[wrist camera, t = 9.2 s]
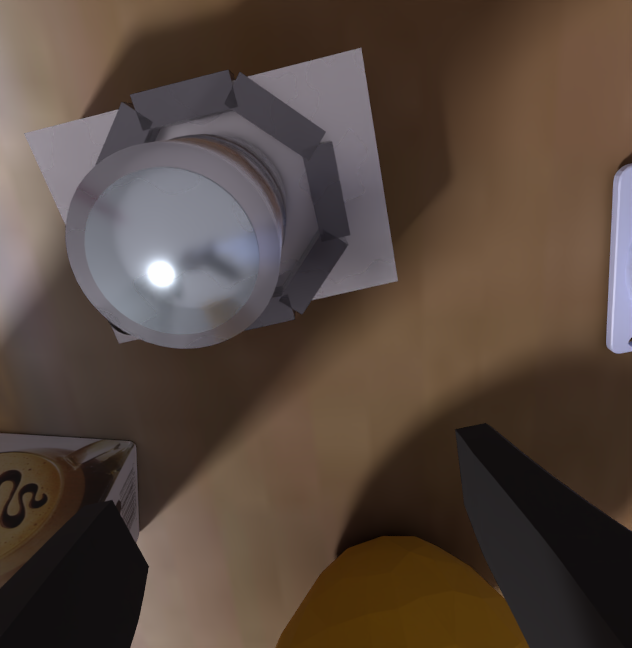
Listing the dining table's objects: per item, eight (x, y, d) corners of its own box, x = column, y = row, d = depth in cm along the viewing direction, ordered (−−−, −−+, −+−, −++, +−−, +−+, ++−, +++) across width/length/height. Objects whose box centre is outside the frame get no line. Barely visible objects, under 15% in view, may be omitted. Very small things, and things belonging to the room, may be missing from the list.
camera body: (348, 57, 15) (365, 34, 11) (383, 261, 18) (405, 294, 14) (69, 128, 16) (0, 127, 12) (146, 314, 19) (109, 360, 15)
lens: (277, 124, 13) (264, 125, 8) (295, 258, 15) (296, 341, 9) (139, 141, 13) (23, 154, 8) (173, 274, 15) (99, 365, 9)
